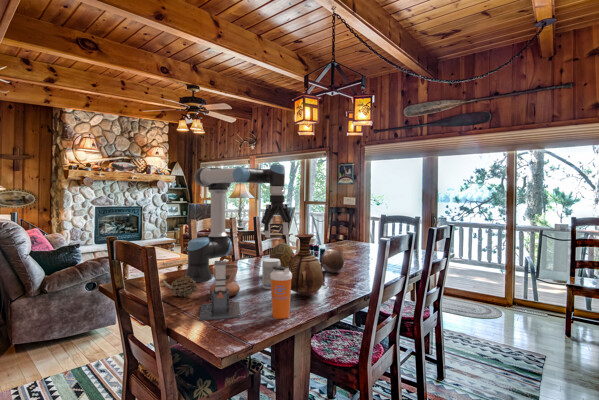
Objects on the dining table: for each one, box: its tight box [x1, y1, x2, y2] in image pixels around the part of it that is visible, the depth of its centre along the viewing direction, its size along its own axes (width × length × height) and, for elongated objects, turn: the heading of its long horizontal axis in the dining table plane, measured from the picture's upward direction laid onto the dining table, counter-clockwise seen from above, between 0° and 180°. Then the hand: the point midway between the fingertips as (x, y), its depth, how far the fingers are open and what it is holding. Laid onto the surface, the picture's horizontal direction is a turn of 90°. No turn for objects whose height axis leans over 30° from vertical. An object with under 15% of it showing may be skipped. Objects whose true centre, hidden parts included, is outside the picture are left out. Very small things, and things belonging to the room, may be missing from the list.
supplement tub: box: [261, 257, 280, 291], centre depth 174 cm, size 10×10×15 cm
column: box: [214, 260, 228, 294], centre depth 138 cm, size 5×5×20 cm
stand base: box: [198, 289, 242, 321], centre depth 138 cm, size 16×16×9 cm
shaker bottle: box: [270, 266, 292, 320], centre depth 134 cm, size 9×9×20 cm
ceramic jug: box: [208, 263, 241, 298], centre depth 161 cm, size 18×14×14 cm
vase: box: [288, 233, 324, 297], centre depth 160 cm, size 21×18×30 cm
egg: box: [268, 242, 296, 267], centre depth 199 cm, size 16×16×20 cm
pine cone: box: [162, 276, 198, 298], centre depth 159 cm, size 22×10×10 cm, turn 67°
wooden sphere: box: [320, 248, 345, 274], centre depth 208 cm, size 15×15×15 cm
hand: (276, 236), depth 168 cm, fingers open, 13 cm apart
